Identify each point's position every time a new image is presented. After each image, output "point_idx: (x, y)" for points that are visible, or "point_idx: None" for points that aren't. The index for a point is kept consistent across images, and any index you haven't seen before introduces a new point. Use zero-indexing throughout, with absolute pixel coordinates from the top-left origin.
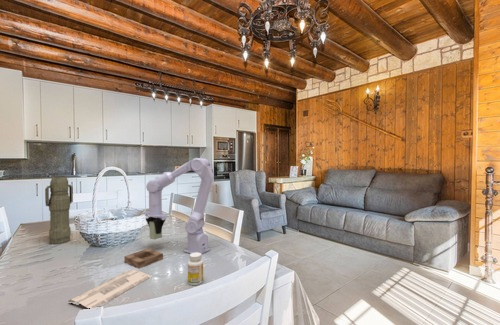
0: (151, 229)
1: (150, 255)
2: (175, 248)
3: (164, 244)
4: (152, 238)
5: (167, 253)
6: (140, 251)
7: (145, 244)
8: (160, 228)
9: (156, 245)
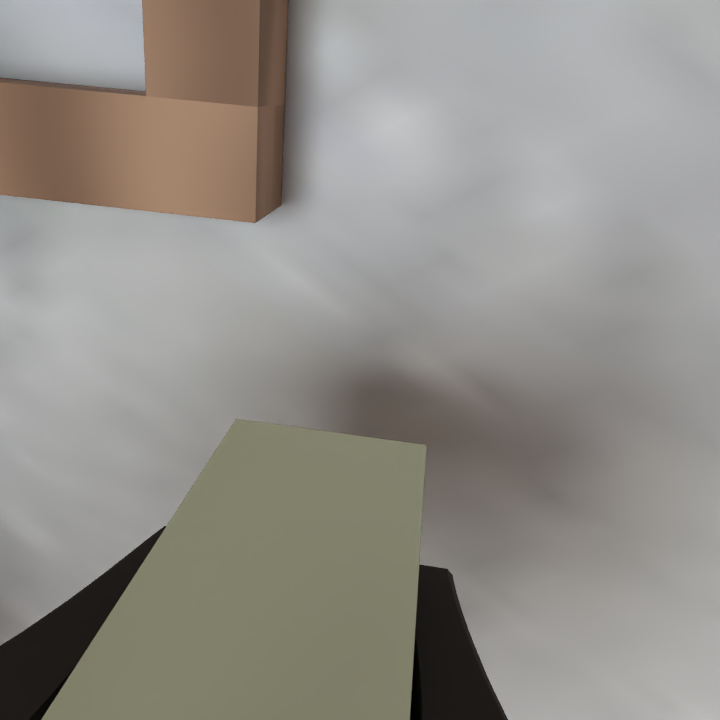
0: (304, 586)
1: (46, 84)
2: (129, 524)
3: None
4: (311, 436)
5: (51, 350)
6: (235, 19)
7: (707, 476)
8: None
9: (483, 510)
